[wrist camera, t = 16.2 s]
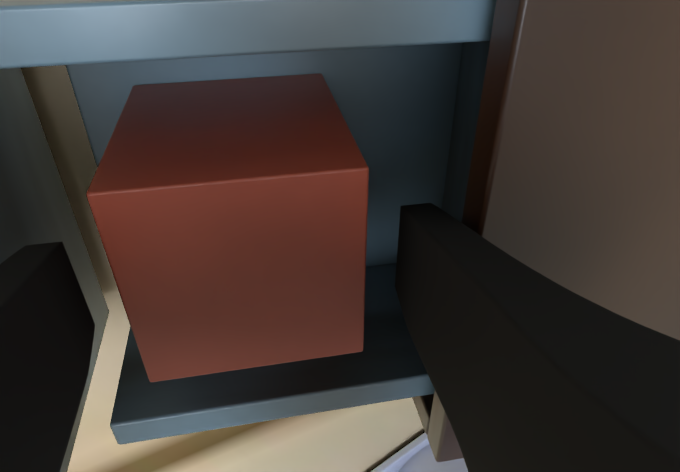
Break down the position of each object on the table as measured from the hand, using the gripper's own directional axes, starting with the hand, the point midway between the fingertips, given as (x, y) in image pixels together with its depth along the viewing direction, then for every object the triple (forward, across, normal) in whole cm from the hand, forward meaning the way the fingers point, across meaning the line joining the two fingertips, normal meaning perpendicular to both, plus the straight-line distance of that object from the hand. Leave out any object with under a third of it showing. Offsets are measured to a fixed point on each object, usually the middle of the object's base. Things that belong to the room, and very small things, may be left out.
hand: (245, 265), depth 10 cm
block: (+4, 0, 0) cm, 4 cm away
